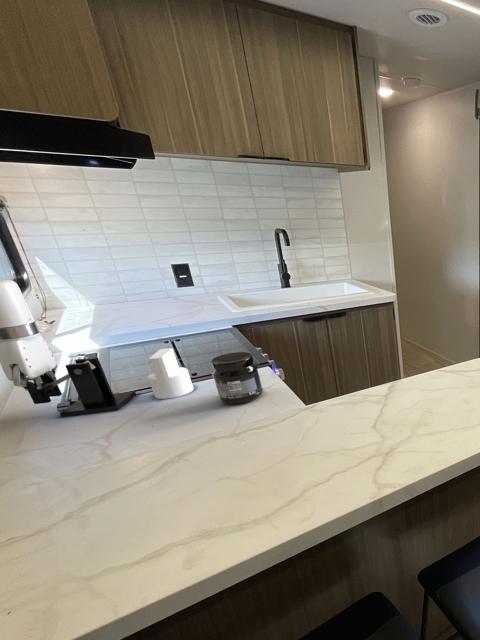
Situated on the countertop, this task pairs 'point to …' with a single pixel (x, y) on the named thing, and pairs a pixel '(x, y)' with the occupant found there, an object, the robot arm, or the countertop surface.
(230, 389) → the supplement container
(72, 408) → the bracket
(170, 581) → the countertop surface
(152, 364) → the base with upright slab
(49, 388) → the tap lever
